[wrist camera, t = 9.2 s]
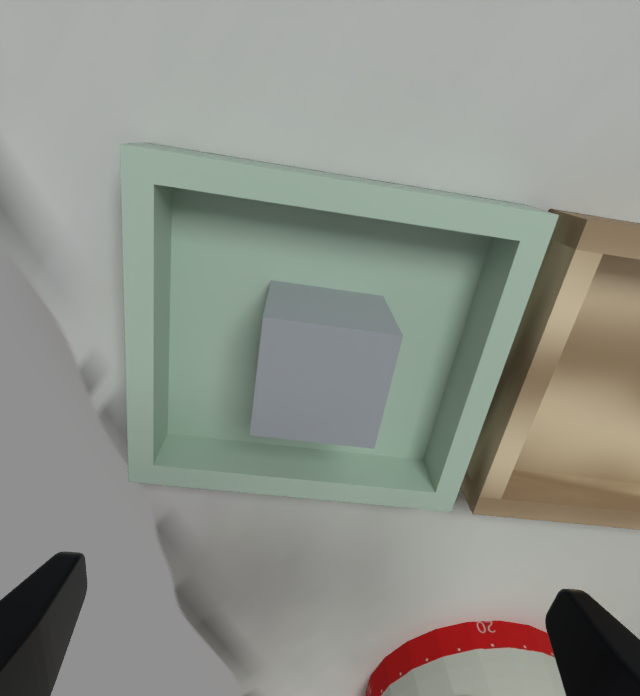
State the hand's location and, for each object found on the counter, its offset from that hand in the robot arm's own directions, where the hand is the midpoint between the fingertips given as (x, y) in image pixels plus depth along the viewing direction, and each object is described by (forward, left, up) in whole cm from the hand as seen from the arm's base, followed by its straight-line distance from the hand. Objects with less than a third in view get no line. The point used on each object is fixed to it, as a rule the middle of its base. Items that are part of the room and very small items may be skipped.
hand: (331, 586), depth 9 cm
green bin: (0, 0, -12) cm, 12 cm away
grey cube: (0, 0, -12) cm, 12 cm away
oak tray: (0, -15, -12) cm, 19 cm away
